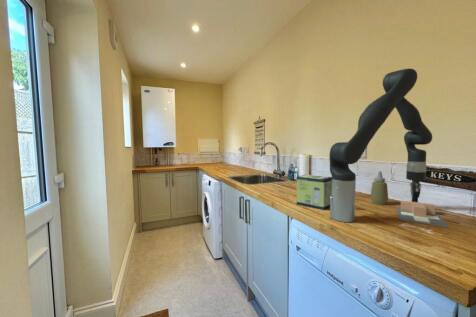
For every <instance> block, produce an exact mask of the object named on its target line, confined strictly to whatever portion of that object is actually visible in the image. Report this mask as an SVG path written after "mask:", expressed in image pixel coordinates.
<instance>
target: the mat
mask: <svg viewBox="0 0 476 317" xmlns="http://www.w3.org/2000/svg"><path fill="white" fill-rule="evenodd" d="M396 210H397V213H398V217H399V218H398V219H399V221H404V222H409V223H410V222H411V223H418V224H422V225H423V224H424V225H430V226H435V227H444V228H449V229H450V226H449V224H448V223H447V222H446V221H445V220H444V219H443V217H441V215H440V214H439V213H438V212H437V211H435V215H433V214H426V217H419V216H414V215H413V213H412V212H410V211H402V210H401V206H396Z"/></svg>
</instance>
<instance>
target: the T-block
mask: <svg viewBox="0 0 476 317" xmlns="http://www.w3.org/2000/svg"><path fill="white" fill-rule="evenodd" d="M400 207H401V210H402V211H410V212H412V213H413V215H414V216H419V217H426V214H433V215H435V212H436V205H435V204H434V203H428V202H427V203H426V202H419V201H418V202H412V200H411V201H408V200H400Z"/></svg>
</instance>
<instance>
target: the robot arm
mask: <svg viewBox="0 0 476 317" xmlns="http://www.w3.org/2000/svg"><path fill="white" fill-rule="evenodd" d="M417 80H418V72H417V70H415V69H414V68H404V69H400V70H395V71H391V72H388V73H386V74H385V75H384V76H383V79H382V87H383V90H384V92H385V93H384V94H382V95H380V96H379V97H378V98H376V99H374V100H373V101H372V102H370V103H369V104H368V105H367V106H366V108H364V110H363V111H362V113H361V114H360V116H359V118H358V122H357V123H358V124H357V130H356V133H355V134H354V135H353V136H352V137H351V139H350V140H348V141H345V142H342V141H341V142H340V141H339V142H336V143H334V144H332V145H331V148H330V150H329V172H330V174H331V177H332V193H331V197H330V207H329V218H330V219H331V220H334V221H337V222H341V223H342V222H343V223H351V222H352V223H353V222H355V217H356V215H355V214H356V187H357V186H356V181H357V178H356V176H357V175H356V172H354V171H352V170H351V169H350V166H349V165H353V164H355V163H358V161H359V160H360V159H361V158H362V156H363V154H364V152H365V151H366V149H367V147H368V146H369V144H370V142H371V140H372V139H373V138H374V136H375V134H376V133H377V132H378V131H379V129H380V128H381V126H383V125H384V123H385V122H386V120H387V119H388V118H389V116H390V115H391V114H392V112H393V111H394V109H396V111H397V113H398V114H399V117H400V120H401V122H402V125H403V128H404V129H405V130H407V132H406V133H405V134H404V136H403V140H404V141H403V142H404V144H405V147H406V151H407V162H406V172H405V174H406V176H405V179H406V180H408V181H411V182H410V183H409V186H410V194H411V195H410V196H411V202H419V198H420V195H421V190H422V189H421V188H422V184H421V183H420V182H423V181H426V180H427V162H426V161H427V151H426V150H425V149H419V148H417V147H416V145H417V146H418V145H420V146H423V145H425V146H426V145H428V144H431V142H432V140H433V134H432V131H430V129H429V128H428V127H427V126H426V124H425V123H424V122H423V120H422V116H421V114H420V112H419V110H418V108H417V107H416V106H415V105H414V104H412V103H411V102H410V101H409V100H408V99H407V98H405V97H406V96H407V95H408V93H410V91H411V90H412V89H413V88H414V86H415V84H416V83H417Z"/></svg>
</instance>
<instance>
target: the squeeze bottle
mask: <svg viewBox="0 0 476 317" xmlns="http://www.w3.org/2000/svg"><path fill="white" fill-rule="evenodd" d="M370 189H371V190H370V194H369V195H370V200H371V203H372V204H374V205H377V206H386V205H387V202H388V200H389V193H388V192H389V191H388V183H387V182H386V178H385V177H383V173H382V171H381V170H380V171H378V173H377V175H376V177H374V181H373V182H372V183H371V188H370Z"/></svg>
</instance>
